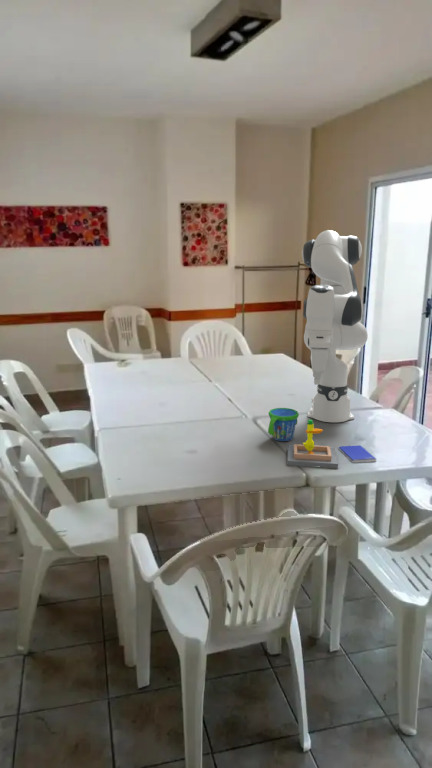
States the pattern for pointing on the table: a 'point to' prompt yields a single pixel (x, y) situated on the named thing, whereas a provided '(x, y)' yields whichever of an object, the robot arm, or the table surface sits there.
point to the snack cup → (282, 423)
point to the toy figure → (310, 431)
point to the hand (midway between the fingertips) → (316, 380)
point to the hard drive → (357, 453)
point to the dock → (312, 456)
